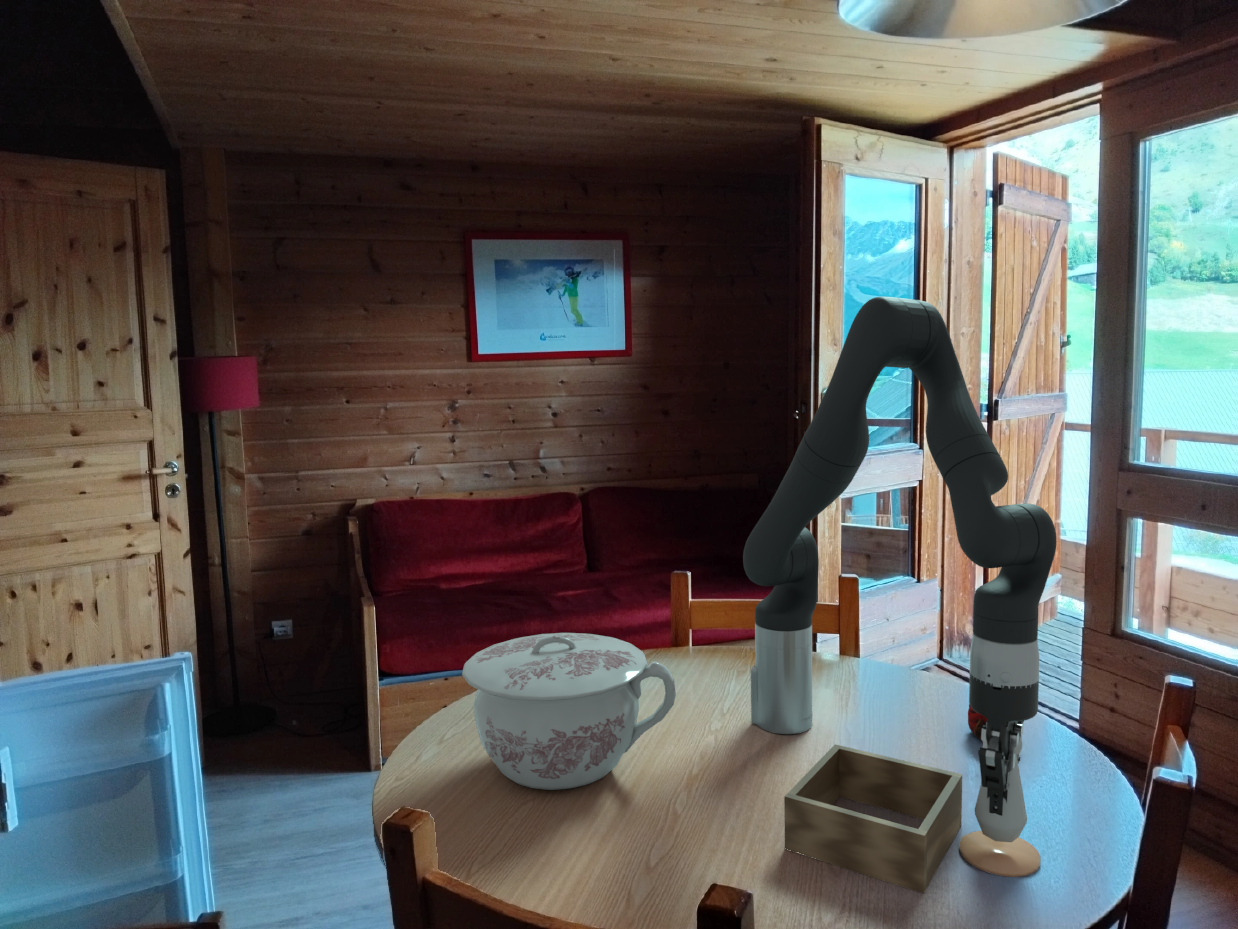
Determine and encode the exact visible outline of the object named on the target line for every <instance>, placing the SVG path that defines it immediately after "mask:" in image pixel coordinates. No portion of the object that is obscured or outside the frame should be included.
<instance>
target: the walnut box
mask: <svg viewBox="0 0 1238 929" xmlns="http://www.w3.org/2000/svg"><path fill="white" fill-rule="evenodd" d="M783 798H784V803H783V804H784V807H783V808H784V809H783V810H784V811H783V812H784V813H783V814H784V849H785V848H786V849H788V850H791V851H794V852H799V853H801V854H804V855H806V856H805V857H807V856H809V857H808V858H810V857H813V858H816V859H819V860H821V861H820V862H823V861H824V862H823V863H826V862H827V863H826V864H829V863H830V864H829V865H832V866H836V867H838V868H841V869H844V870H845V869H846V870H849V871H851V872H854V873H857V872H858V874H860V875H861V874H862V875H864V876H868V877H870V878H873V879H876V880H880V881H883V882H886V883H889V884H891V885H895V886H899V887H902V888H905V889H909V890H911V891H914V892H918V893H921V894H925V893H926V891H927V889H928V887H929V885H930V883H931V882H932V881H933V878H934V876H935V874H936V873H937V871H938V869H939V867H940V865H941V863H942V861H943V860H944V858H945V856H946V855H947V852H948V851H949V849H950V847H951V845H952V844H953V842H954V840H955V838H956V836H957V835H958V833H959V831H960V829H961V827H962V816H963V815H962V814H963V813H962V812H963V810H962V809H963V805H962V804H963V774H962V773H958V772H954V771H950V770H946V769H941V768H938V767H937V768H936V767H932V766H929V765H925V764H920V763H916V762H912V761H907V760H904V759H898V758H894V757H890V756H886V755H882V754H877V753H873V752H869V751H864V750H862V749H861V750H860V749H857V748H852V747H850V746H849V747H848V746H844V745H840V744H837V743H835V744H833V745H832V747H831V748H830V749H828V751H827V752H826V753H825V754H824V755H823V756H821V758H820V759H819V760H818V761H817V762H816V763H815V764H814V765H813V767H812V768H810V769H809V770H808V771H807V773H805V774H804V776H803V777H802V778H801V779H799V781H798V782H797V783H795V784H794V786H793V787H792V788H791V789H790V790H789V791H788V792H787V793H786V794H784V797H783ZM839 798H843V799H847V800H850V801H854V802H858V803H861V804H866V805H869V806H873V807H876V808H879V809H882V810H883V809H884V810H887V811H891V812H894V813H899V814H901V815H906V816H910V817H912V818H913V817H914V818H917V819H921V820H923V821H922V823H921V825H920V826H919V827H918V828H916V827H911V826H909V825H904V824H902V823H897V822H893V821H891V820H887V819H883V818H881V817H880V818H879V817H876V816H873V815H869V814H864V813H860V812H858V811H854V810H851V809H847V808H843V807H840V806H836V805H834V804H835V802H836V801H837V800H838V799H839ZM788 850H787V851H788ZM791 851H790V852H791ZM794 852H793V853H794ZM801 854H800V855H801ZM804 855H803V856H804ZM813 858H812V859H813ZM816 859H815V860H816ZM819 860H818V861H819Z"/></svg>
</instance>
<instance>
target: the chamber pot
mask: <svg viewBox="0 0 1238 929" xmlns="http://www.w3.org/2000/svg"><path fill="white" fill-rule="evenodd" d="M461 673H462V674H461V676H462V678H464V679H465V681H466V682H467V684H468V685H469V686H471V687H472V688H474V689H476V692H475V696H474V701H473V710H474V712H473V713H474V723H475V725H476V729H477V734H478V736H479V741H480V744H481V746H482V747H483V749H484V751H485V752H486V754H487V755H488V756H489V758H490V759H491V760H492V762H493V764H495V766H496V767H497V768H498V770H499V771H500V773H502V775H503V776H505V778H507V779H509V780H511V781H512V782H514V783H515V784H518V785H521V786H524V787H527V788H531V789H535V790H536V789H539V790H547V791H548V790H549V791H552V790H553V791H554V790H555V791H556V790H568V789H574V788H578V787H583V786H586V785H589V784H591V783H594V782H596V781H599V780H600V779H602V778H604V777H606V775H608V774H609V773H611V771H612V770H613V769H615V767H617V765H618V763H619V762H620V760H621V759H622V757H623V756H624V754H625V753H627V752H628V751H629V750H630V749H631V747H632V746H633V745H634V744H635V743H636V741H637V740H638V739H639V738H640V737H642V735H643V734H644V733H646V732H647V731H648V730H649V729H651V728H653V727H655V725H657V724H658V723H660V722H662V721H663V720H664V718H665V717H666V715H668V713H669V711H671V709H672V708H673V707H674V705H675V701H676V700H675V699H676V696H677V692H676V683H675V682H676V681H675V678H674V677H673V675H672V673H671V671H670V670H669V669H668V668H667V666H665V665H664V664H662V663H661V662H660V661H652V662H651V663H650V664H648V660H647V658H646V654H645V653H644V652H643V651H642V650H641V649H640V648H638V647H636V646H635V645H634V644H632V643H630V642H627V641H625V640H622V639H619V638H616V637H613V636H607V635H606V636H605V635H599V634H593V633H585V632H584V633H582V632H581V633H578V632H577V633H576V632H555V633H541V634H534V635H529V636H522V637H516V638H512V639H510V640H506V641H503V642H499V643H495V644H492V645H490V646H488V647H486V648H484V649H482V650H480V651H477V652H476V653H475V654H473V655H472V656H471V657H470V658H469V659H468V660H466V662H465V663H464V664H463V669H462V672H461ZM652 677H653V678H658V679H661V680H662V682H663V685H664V692H665V693H664V697H663V701H662V703H661V704H660V705H659V706H658V708H657V709H656V710H655V711H654V712H653V713H652V714H651V715H649V716H647V717H645V718H644V719H642V720H640V721H639V722H637V721H638V717H639V716H638V715H639V711H640V710H639V709H640V708H639V707H640V706H639V705H640V704H639V699H640V697H642V684H641V682H642V681H644V680H646V679H648V678H652Z"/></svg>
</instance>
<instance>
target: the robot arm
mask: <svg viewBox="0 0 1238 929" xmlns="http://www.w3.org/2000/svg"><path fill="white" fill-rule="evenodd" d="M942 316H943V315H942V314H941V313H940V312H939V310H938V309H937V307H936V306H934V305H933V304H931V303H930V302H927V301H924V300H920V299H913V298H912V299H911V298H903V297H902V298H901V297H893V296H876V297H872V298H870V299H868V300H867V301H866V302H865V303H864V304H863V305H862V306H861V307H860V309H859V310H858V312H857V313H856V315H855V317H854V319H853V321H852V322H851V325H850V328H849V330H848V333H847V336H846V338H845V340H844V344H843V346H842V348H841V351H840V354H839V357H838V360H837V363H836V365H835V369H834V371H833V373H832V376H831V378H830V381H829V384H828V386H827V388H826V390H825V392H824V395H823V397H822V398H821V401H820V403H819V406H818V408H817V410H816V411H815V414H814V416H813V418H812V419H811V422H810V423H809V425H808V427H807V429H806V431H805V433H804V435H803V437H802V439H801V441H800V443H799V444H798V447H797V450H796V451H795V455H794V456H793V458H792V461H791V463H790V466H789V467H788V469H787V471H786V472H785V475H784V477H783V479H782V480H781V482H780V484H779V486H778V488H777V490H776V492H775V493H774V495H773V497H772V499H771V501H770V503H769V504H768V506H767V507H766V509H765V510H764V512H763V513H762V515H761V517H760V518H759V520H758V521H757V523H756V524H755V525H754V527H753V529H752V530H751V532H750V534H749V536H748V537H747V540H746V541H745V545H744V548H743V553H742V554H743V555H742V562H743V569H744V572H745V574H746V576H747V578H748V579H749V581H751V582H752V583H754V584H756V585H758V586H764V587H773V588H772V590H771V591H770V593H768V594H767V596H765V598H763V599H762V600H760V602H758V603H757V604H756V606H755V609H754V610H755V611H754V634H755V635H754V641H755V642H754V644H755V645H754V646H755V647H754V649H755V654H754V655H755V664H754V666H752V667H751V668H750V720H751V721H750V722H751V724H754V725H756V726H758V727H759V728H760V729H762V730H764V731H766V732H770V733H773V734H778V735H779V734H781V735H794V734H796V735H797V734H800V733H803V732H806V731H808V730H810V729H811V727H812V726H813V614H814V612H815V609H816V607H817V602H818V587H819V586H818V584H819V567H820V566H819V565H820V564H819V563H820V562H819V560H820V558H819V550H818V545H817V542H816V539H815V537H814V535H813V533H812V532H811V531H810V530H809V529H808V528H807V526H808V524H809V523H811V521H813V520H814V519H815V518H816V517H817V516H818V515H819V514H821V513H822V512H823V511H824V510H826V508H828V507H829V506H830V505H831V504H833V502H835V500H837V499H838V498H839V497H840V496H841V495H842V494H843V493H844V492H845V491H846V489H848V488H849V486H850V484H851V483H852V481H853V480H854V478H855V476H856V474H857V473H858V470H859V469H860V467H861V465H862V463H863V462H864V460H865V458H866V455H867V453H868V450H869V445H870V433H869V432H870V429H869V422H868V416H867V402H868V399H869V395H870V394H871V391H872V389H873V387H874V385H875V382H876V381H877V379H878V377H879V376H880V373H881V372H882V371H883V370H884V369H885V368H898V369H900V368H902V369H910V370H911V372H912V373H913V375H914V376H915V377H916V378H917V380H918V382H919V383H920V384H921V386H922V387H923V390H924V392H925V396H926V404H927V412H926V420H925V438H926V443H927V447H928V450H929V452H930V455H931V457H932V459H933V461H934V463H935V466H936V468H937V469H938V471H939V474H940V475H941V477H942V479H943V481H944V483H945V485H946V487H947V488H948V491H949V497H950V504H951V508H952V509H951V510H952V514H953V518H954V524H955V525H954V526H955V530H956V532H955V533H956V536H957V541H958V544H959V546H960V549H961V550H962V552H963V553H964V555H965V556H966V557H967V558H968V559H969V560H970V561H971V562H972V563H974V564H975V565H977V566H978V567H980V568H983V569H998V568H1000V570H999V573H998V575H997V576H996V577H995V578H994V579H992V580H990V581H988V582H986V583H983V584H982V585H980V586H979V587H978V588H977V589H975V590H976V591H975V592H974V595H973V605H972V608H973V609H972V638H971V643H970V644H971V645H970V650H969V652H970V653H969V682H968V683H969V685H968V688H969V690H968V691H969V692H968V695H969V696H968V702H969V704H970V706H971V708H972V709H973V710H974V711H975V712H977V713H979V714H981V715H983V716H984V717H985V718H986V719H987V722H986V726H984V725H983V726H982V732H981V739H980V740H981V741H982V747H981V746H980V747H979V749H978V753H977V754H978V759H979V770H980V771H979V772H980V780H981V782H980V784H981V783H982V787H986V788H987V799H988V798H989V797H990V798H989V801H990V802H989V804H990V805H989V813H996V814H998V815H1001V816H1002V812H1003V797H1004V799H1005V800H1006V802H1007V796H1008V788H1009V787H1010V783H1009V777H1010V771H1012V770H1013V769H1014V767H1015V747H1016V746H1017V745H1018V743H1019V736H1020V737H1021V738H1022V739H1023V735H1024V722H1025V721H1028V720H1030V719H1033V718H1034V717H1036V715H1037V714H1038V712H1039V688H1040V687H1039V685H1040V682H1039V681H1040V650H1039V639H1038V634H1039V605H1040V601H1041V599H1042V596H1043V593H1044V590H1045V588H1046V584H1047V581H1048V578H1049V575H1050V571H1051V570H1052V569H1051V568H1052V567H1053V566H1052V565H1053V562H1054V559H1055V556H1056V555H1055V554H1056V552H1057V551H1056V550H1057V533H1056V532H1057V531H1056V527H1055V525H1054V521H1053V520H1052V518H1051V516H1050V514H1049V513H1048V512H1047V511H1046V510H1045V509H1044V508H1043V507H1041V506H1039V505H1038V504H1034V503H1033V504H1032V503H1014V504H1008V505H1007V504H1006V505H998V506H997V505H995V504H994V501H993V500H992V497H991V496H993V495H995V494H997V493H998V492H1000V491H1001V490H1002V489H1004V487H1005V486H1006V485H1007V482H1008V480H1009V473H1008V472H1009V471H1008V469H1007V467H1006V464H1005V462H1004V461H1003V459H1002V457H1001V455H1000V453H999V451H998V449H997V448H996V445H995V444H994V442H993V440H992V439H991V437H990V435H989V433H988V431H987V430H986V428H985V426H984V424H983V422H982V420H981V418H980V416H979V414H978V412H977V410H976V408H975V406H974V403H973V400H972V398H971V394H970V393H969V390H968V387H967V384H966V383H967V382H966V380H965V378H964V375H963V371H962V368H961V365H960V362H959V360H958V358H957V354H956V351H955V347H954V345H953V341H952V338H951V336H950V333H949V331H948V327H947V325H946V322H945V320H944V318H943V317H942ZM969 704H968V705H969ZM1009 743H1010V746H1009ZM1021 754H1022V751H1021V752H1020V753H1019V754H1018V755H1017V760H1018V765H1019V763H1020V762H1021ZM1004 759H1006V760H1008V759H1009V761H1008V762H1005V761H1004ZM996 793H997V794H998V795H996ZM996 801H997V802H996ZM995 806H997V809H995Z"/></svg>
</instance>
